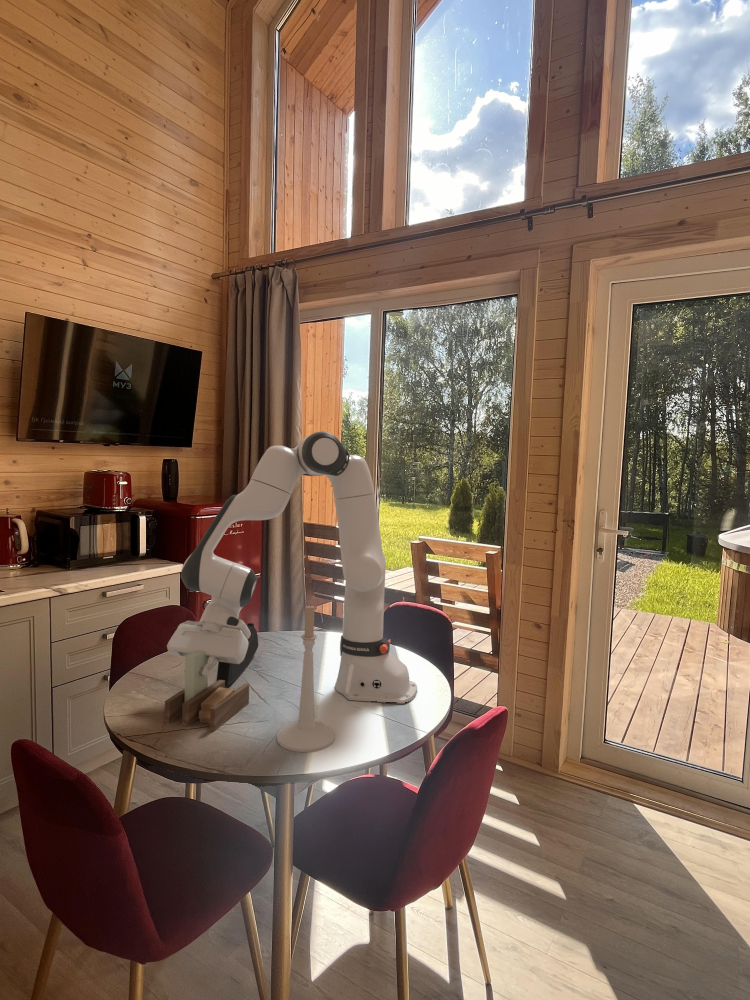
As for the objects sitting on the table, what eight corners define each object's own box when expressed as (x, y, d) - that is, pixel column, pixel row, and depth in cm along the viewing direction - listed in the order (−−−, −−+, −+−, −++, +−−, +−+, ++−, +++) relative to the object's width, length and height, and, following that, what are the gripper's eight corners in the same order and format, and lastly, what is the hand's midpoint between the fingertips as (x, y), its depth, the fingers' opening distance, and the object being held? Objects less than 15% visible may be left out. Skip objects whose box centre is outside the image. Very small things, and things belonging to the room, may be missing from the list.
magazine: (225, 661, 149) (256, 602, 177) (213, 660, 149) (245, 602, 177) (230, 715, 155) (259, 649, 183) (218, 714, 155) (249, 649, 183)
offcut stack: (234, 706, 143) (234, 688, 143) (215, 725, 132) (215, 706, 132) (218, 704, 143) (219, 687, 143) (198, 724, 133) (199, 705, 132)
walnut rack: (248, 703, 144) (249, 684, 144) (214, 730, 129) (215, 709, 129) (203, 696, 148) (203, 677, 148) (164, 722, 132) (165, 701, 132)
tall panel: (207, 705, 142) (208, 649, 141) (193, 715, 136) (194, 657, 135) (198, 704, 143) (199, 648, 142) (184, 713, 137) (185, 656, 136)
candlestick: (273, 727, 132) (277, 598, 130) (328, 722, 135) (332, 597, 134) (280, 754, 120) (284, 612, 118) (340, 748, 123) (345, 610, 121)
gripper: (176, 613, 148) (152, 663, 139) (248, 621, 142) (227, 673, 133) (186, 626, 152) (163, 674, 143) (256, 634, 147) (236, 685, 138)
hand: (195, 674), depth 138 cm, fingers closed on tall panel, 2 cm apart
